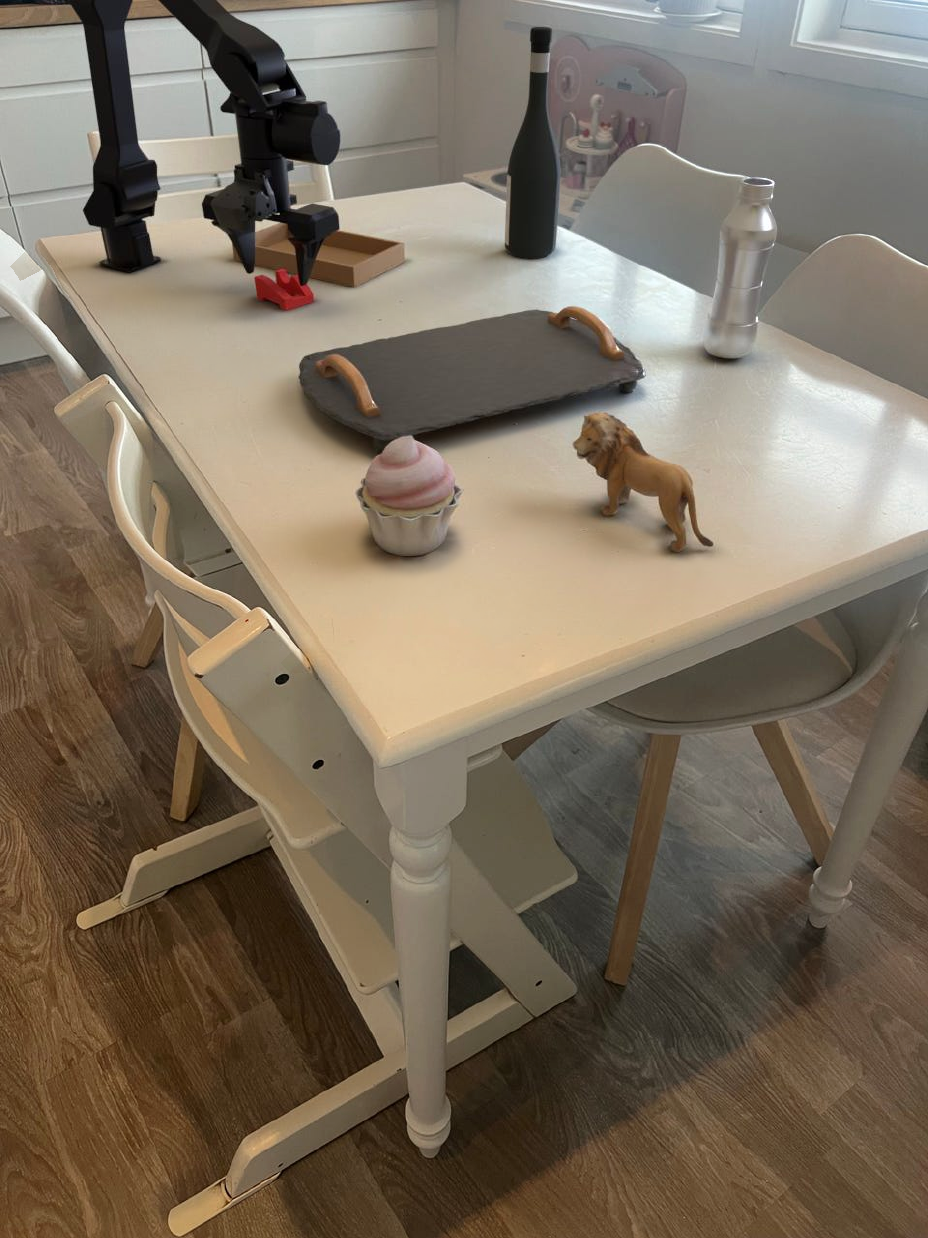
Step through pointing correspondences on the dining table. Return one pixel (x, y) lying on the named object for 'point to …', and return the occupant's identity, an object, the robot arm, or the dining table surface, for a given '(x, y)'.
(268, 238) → the cardboard box
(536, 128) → the wine bottle
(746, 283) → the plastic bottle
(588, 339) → the serving tray
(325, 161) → the robot arm
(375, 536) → the cupcake
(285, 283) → the bracket
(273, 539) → the dining table surface
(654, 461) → the lion figurine
